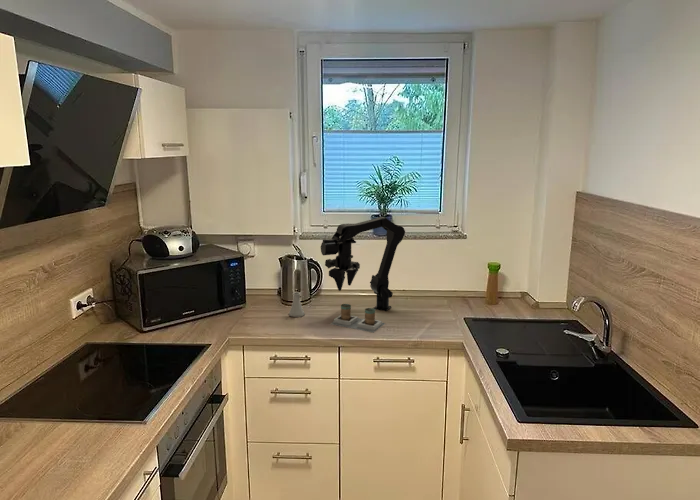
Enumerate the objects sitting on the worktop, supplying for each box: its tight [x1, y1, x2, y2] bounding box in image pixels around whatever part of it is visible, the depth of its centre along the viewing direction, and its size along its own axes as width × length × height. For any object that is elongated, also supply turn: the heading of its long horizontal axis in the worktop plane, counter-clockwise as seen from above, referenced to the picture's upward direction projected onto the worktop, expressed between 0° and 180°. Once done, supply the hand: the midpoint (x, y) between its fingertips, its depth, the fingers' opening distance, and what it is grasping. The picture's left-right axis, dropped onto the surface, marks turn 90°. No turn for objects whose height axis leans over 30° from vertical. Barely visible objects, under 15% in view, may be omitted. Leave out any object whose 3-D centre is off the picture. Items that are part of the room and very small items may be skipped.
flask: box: [288, 291, 306, 318], centre depth 223 cm, size 7×7×10 cm
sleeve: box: [340, 303, 352, 321], centre depth 213 cm, size 4×4×7 cm
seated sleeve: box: [364, 307, 376, 326], centre depth 208 cm, size 4×4×7 cm
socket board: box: [330, 314, 386, 333], centre depth 211 cm, size 12×20×3 cm, turn 63°
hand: (344, 287), depth 224 cm, fingers open, 9 cm apart
